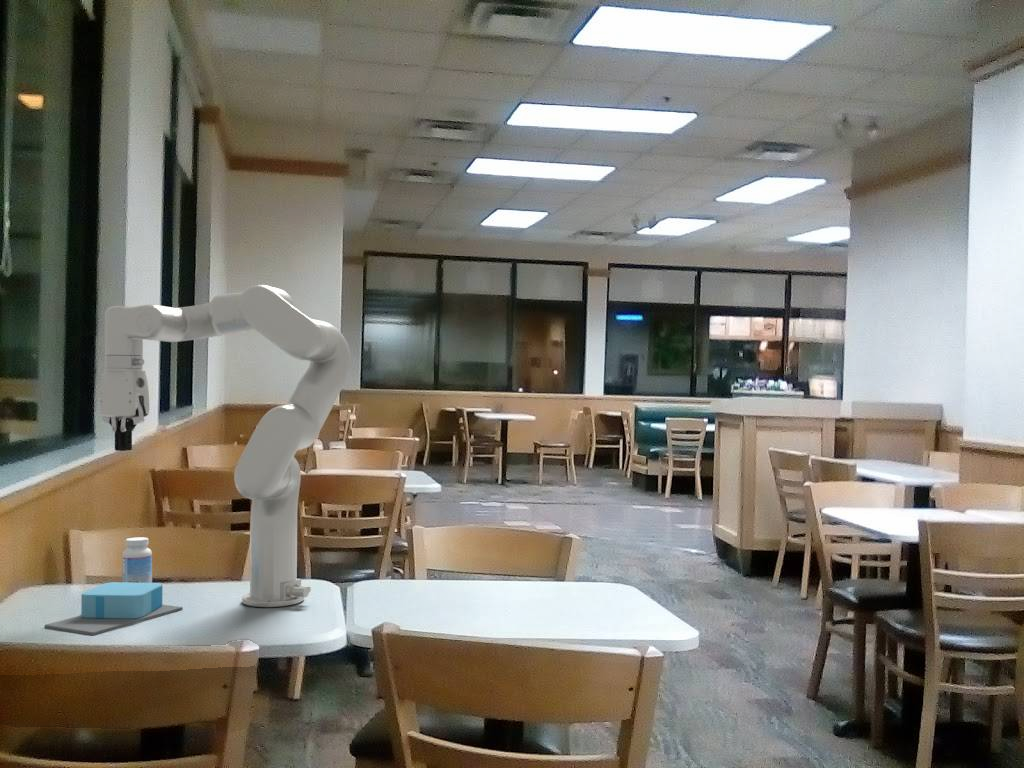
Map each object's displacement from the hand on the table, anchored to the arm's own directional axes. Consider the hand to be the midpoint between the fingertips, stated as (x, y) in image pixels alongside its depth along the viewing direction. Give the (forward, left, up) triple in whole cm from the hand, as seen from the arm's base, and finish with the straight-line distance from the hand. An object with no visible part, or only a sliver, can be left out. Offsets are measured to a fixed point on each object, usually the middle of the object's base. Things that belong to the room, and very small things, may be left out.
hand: (123, 450), depth 206 cm
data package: (-7, +14, -28) cm, 32 cm away
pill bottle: (+2, -6, -31) cm, 32 cm away
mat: (-14, +15, -31) cm, 37 cm away
